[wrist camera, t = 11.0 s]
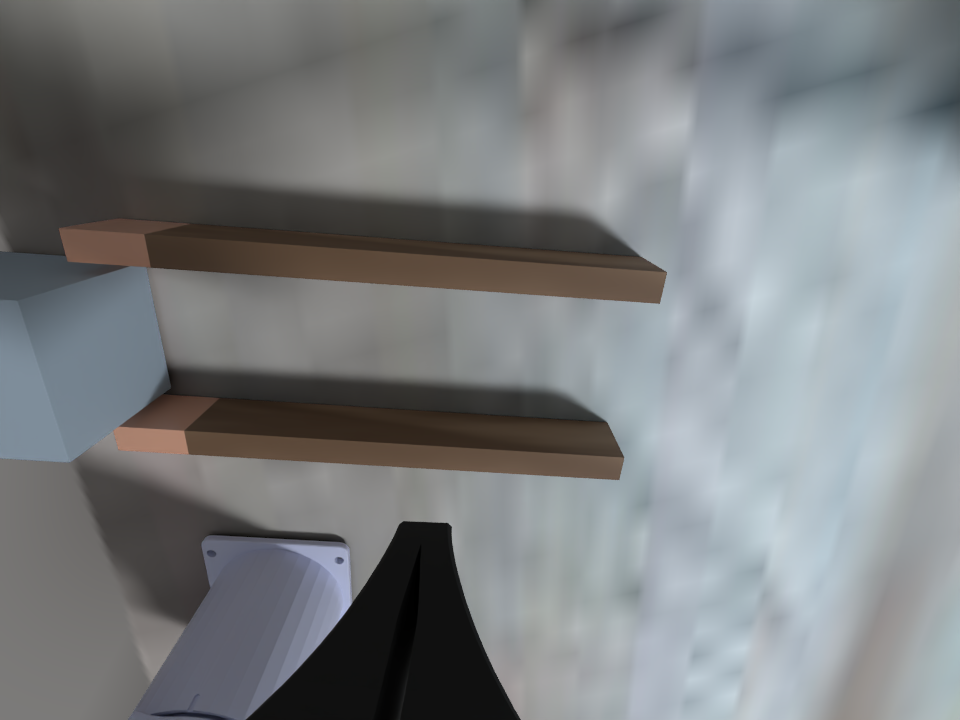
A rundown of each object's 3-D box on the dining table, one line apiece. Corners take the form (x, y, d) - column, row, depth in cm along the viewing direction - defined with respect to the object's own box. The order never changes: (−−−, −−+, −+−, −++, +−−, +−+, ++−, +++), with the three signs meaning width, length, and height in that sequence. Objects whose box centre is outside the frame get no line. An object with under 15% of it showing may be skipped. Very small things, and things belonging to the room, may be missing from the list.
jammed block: (171, 387, 22) (70, 462, 17) (41, 379, 22) (-104, 452, 17) (145, 261, 20) (17, 300, 14) (0, 251, 20) (-185, 286, 14)
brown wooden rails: (603, 442, 24) (619, 480, 21) (161, 415, 23) (118, 450, 20) (641, 256, 20) (667, 272, 17) (117, 218, 20) (58, 227, 17)
